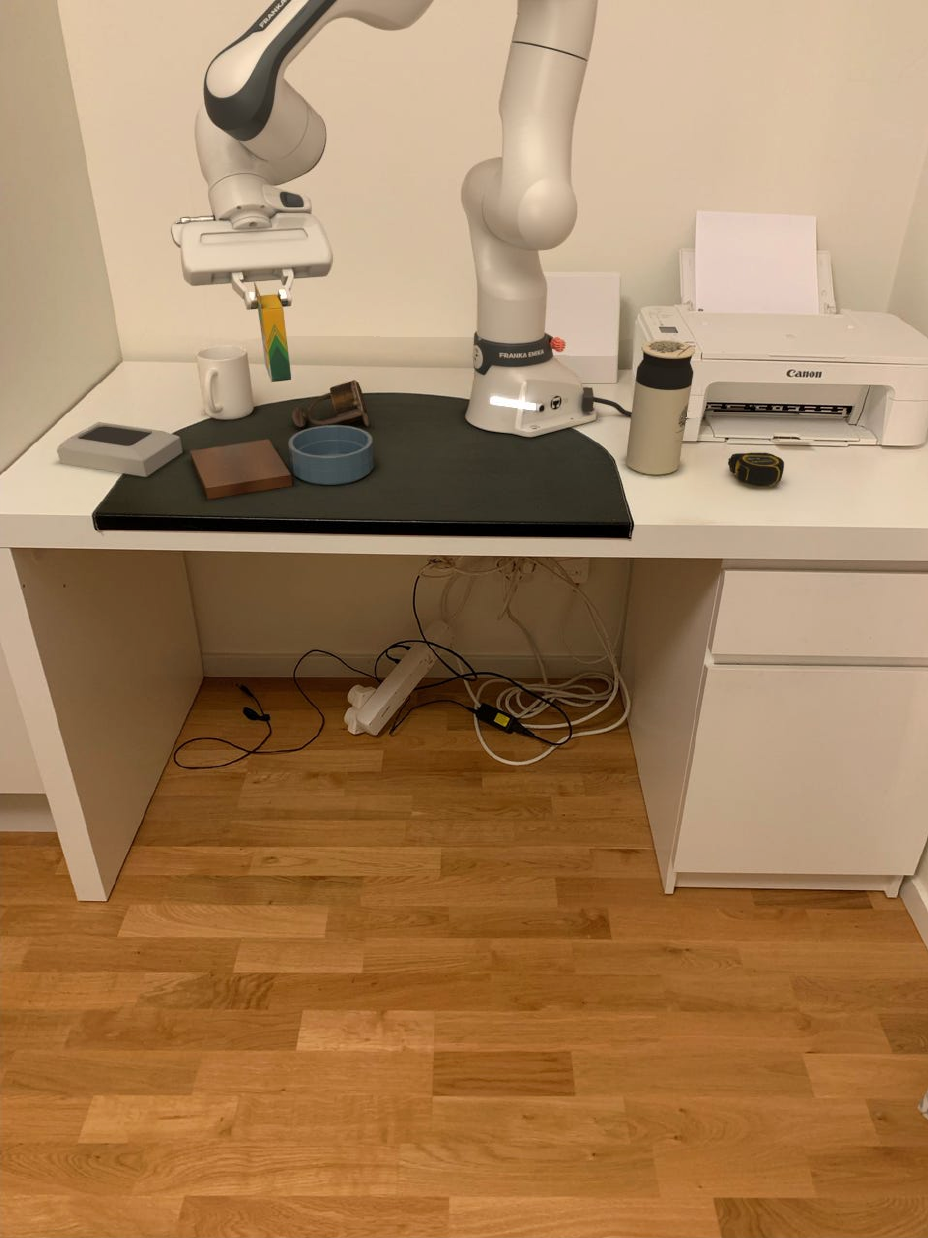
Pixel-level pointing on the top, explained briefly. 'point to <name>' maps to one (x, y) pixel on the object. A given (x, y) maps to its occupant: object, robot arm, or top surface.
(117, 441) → the grey bevelled block
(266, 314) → the crayon box
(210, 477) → the board
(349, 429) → the bowl
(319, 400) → the brown roll holder
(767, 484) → the tape measure
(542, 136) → the robot arm
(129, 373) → the top surface
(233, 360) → the cup
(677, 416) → the travel mug
